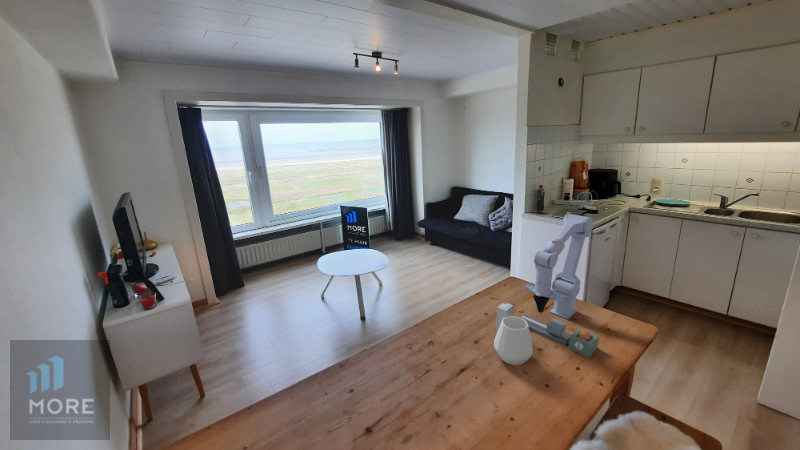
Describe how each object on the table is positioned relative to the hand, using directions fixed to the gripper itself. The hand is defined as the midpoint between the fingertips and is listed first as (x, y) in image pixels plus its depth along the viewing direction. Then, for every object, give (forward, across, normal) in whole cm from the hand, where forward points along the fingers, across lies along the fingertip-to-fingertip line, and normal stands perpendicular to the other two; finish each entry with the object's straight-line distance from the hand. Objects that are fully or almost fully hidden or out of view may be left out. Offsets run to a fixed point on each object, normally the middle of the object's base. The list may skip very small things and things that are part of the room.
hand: (540, 311), depth 131 cm
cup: (+8, +2, -23) cm, 25 cm away
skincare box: (+8, -8, -13) cm, 17 cm away
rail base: (+8, +2, 0) cm, 8 cm away
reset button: (+6, +17, 0) cm, 18 cm away
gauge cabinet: (+8, +17, 0) cm, 19 cm away
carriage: (+6, +7, 0) cm, 9 cm away
